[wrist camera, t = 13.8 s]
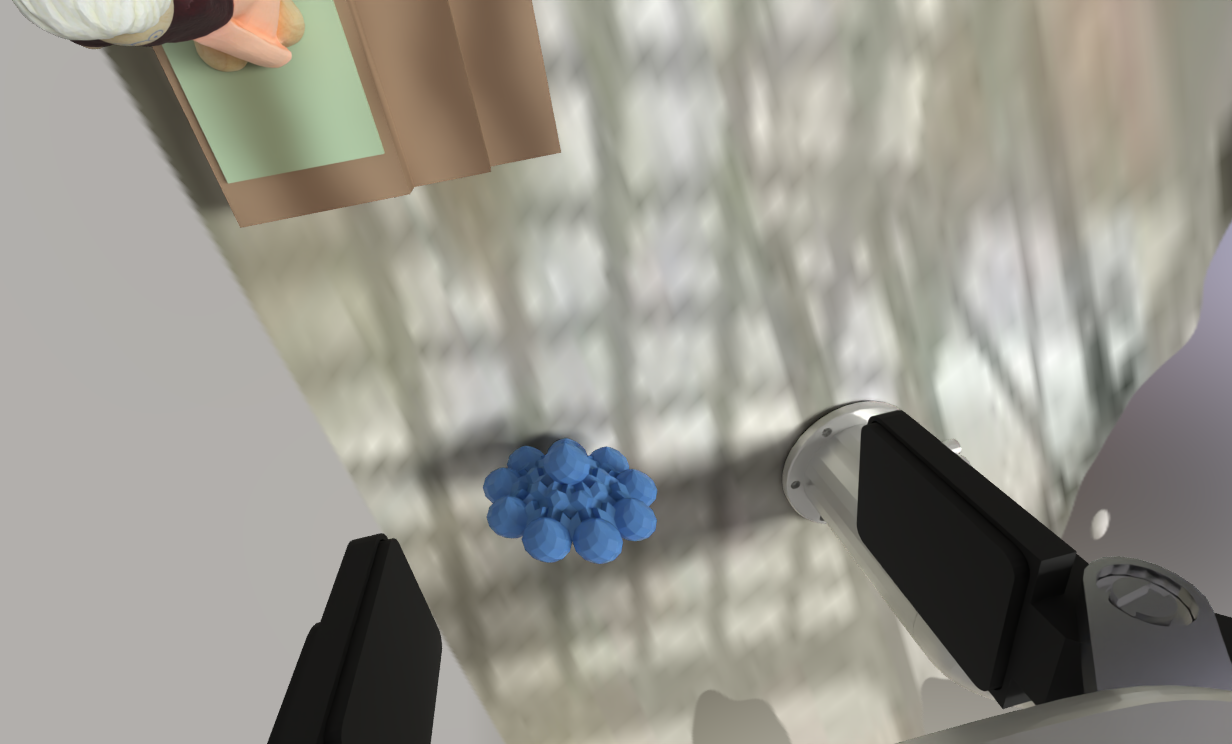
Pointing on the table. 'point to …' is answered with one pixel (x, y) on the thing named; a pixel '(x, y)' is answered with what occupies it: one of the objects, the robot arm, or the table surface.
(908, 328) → the table surface
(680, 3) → the table surface
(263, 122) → the step riser
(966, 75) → the table surface
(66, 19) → the grandmother figurine
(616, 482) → the grapes
